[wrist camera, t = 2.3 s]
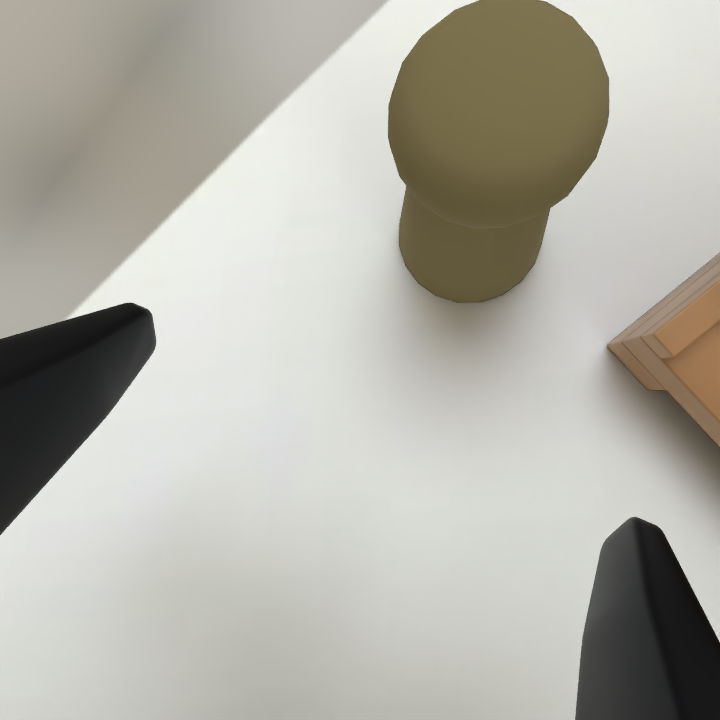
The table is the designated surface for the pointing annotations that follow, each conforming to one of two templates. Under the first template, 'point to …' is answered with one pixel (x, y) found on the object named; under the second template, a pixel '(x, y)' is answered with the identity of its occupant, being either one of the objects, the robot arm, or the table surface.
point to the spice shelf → (681, 347)
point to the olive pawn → (492, 140)
